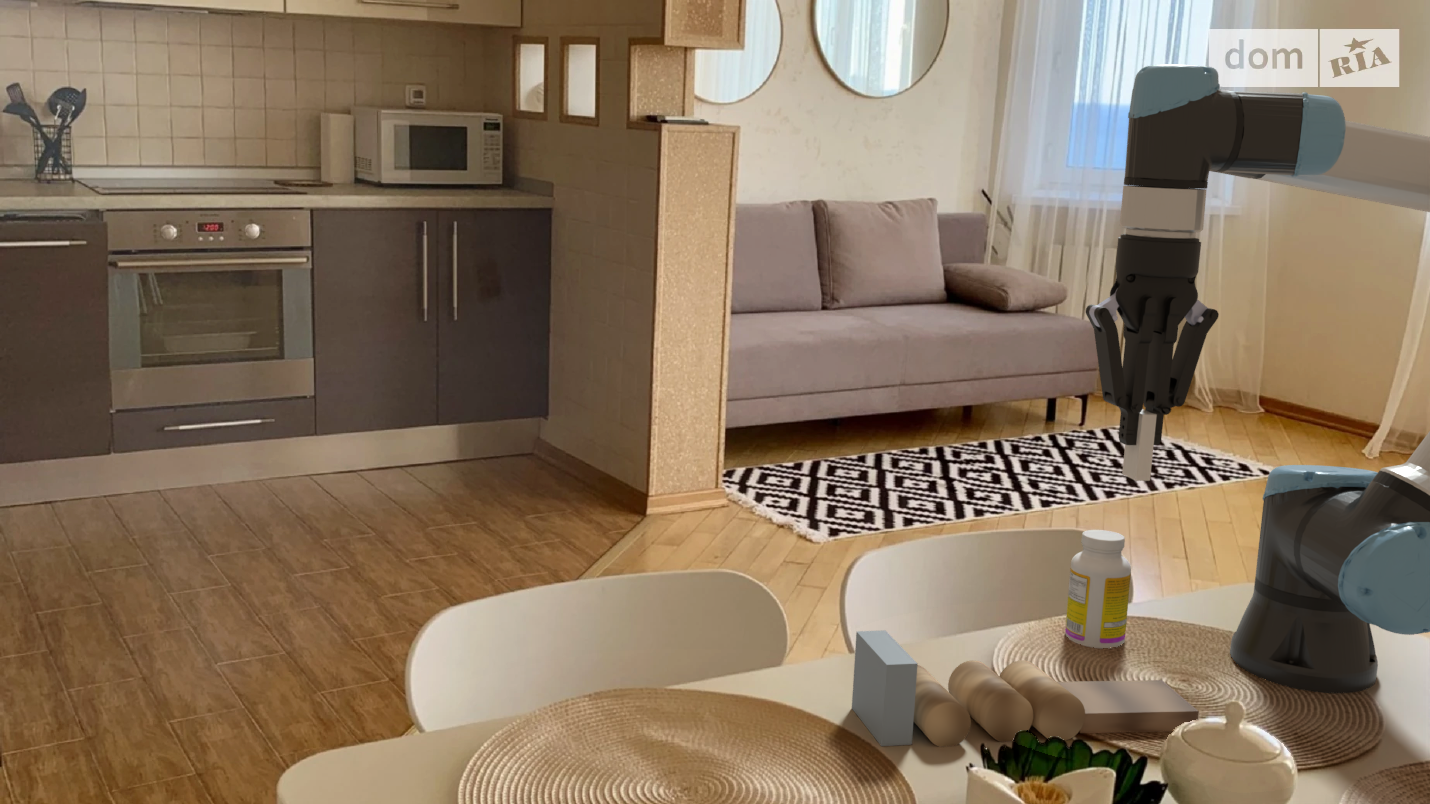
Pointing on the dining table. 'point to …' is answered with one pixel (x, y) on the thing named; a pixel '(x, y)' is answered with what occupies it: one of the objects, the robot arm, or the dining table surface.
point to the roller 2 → (990, 700)
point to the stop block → (884, 687)
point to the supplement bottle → (1098, 591)
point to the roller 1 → (939, 712)
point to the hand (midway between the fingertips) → (1136, 477)
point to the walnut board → (1130, 706)
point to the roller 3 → (1046, 700)
